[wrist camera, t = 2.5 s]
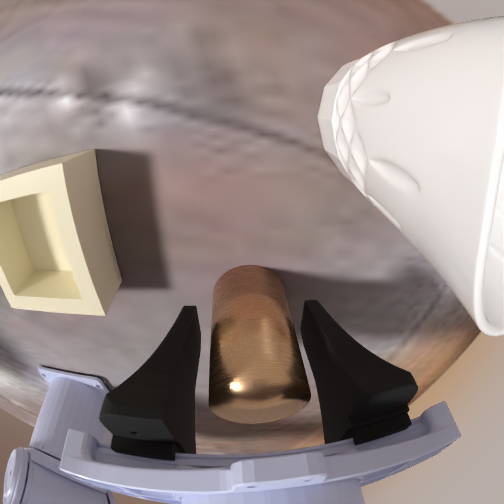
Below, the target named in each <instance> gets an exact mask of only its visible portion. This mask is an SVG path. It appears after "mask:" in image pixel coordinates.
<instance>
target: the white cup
mask: <svg viewBox="0 0 504 504" xmlns="http://www.w3.org/2000/svg"><path fill="white" fill-rule="evenodd" d="M317 118H318V123H319V127H320V132H321V137H322V141H323V146H324V150H325V151H326V152H327V154H328V155H329V157H330V158H331V159H332V161H333V162H334V164H335V165H336V166H337V168H338V169H339V171H340V172H341V173H342V175H344V176H345V177H346V178H347V179H348V180H350V181H351V182H352V183H353V184H354V185H355V186H356V187H357V188H358V189H359V190H360V191H361V193H362V194H363V195H364V196H365V197H366V198H367V199H368V200H369V201H370V202H371V203H372V204H373V205H374V206H375V207H376V208H377V209H378V210H379V211H380V212H381V213H382V214H383V215H384V216H385V217H386V218H387V220H388V221H389V222H390V223H391V224H392V225H393V226H394V227H395V228H396V229H397V230H398V231H399V232H400V233H401V234H402V235H403V236H404V237H405V238H406V239H407V240H408V241H409V242H410V244H411V245H412V246H413V247H414V248H415V249H416V250H417V251H418V252H419V253H420V254H421V255H422V257H423V258H424V259H425V260H426V261H427V262H428V263H429V264H430V266H431V267H432V268H433V269H434V270H435V271H436V273H437V274H438V275H439V276H440V277H441V279H442V280H443V281H444V282H445V283H446V285H447V286H448V287H449V288H450V290H451V291H452V292H453V294H454V295H455V296H456V297H457V299H458V300H459V301H460V303H461V304H462V305H463V307H464V308H465V309H466V311H467V312H468V314H469V315H470V316H471V318H472V319H473V321H474V322H475V323H476V325H477V326H478V328H479V329H480V330H481V331H482V332H483V333H484V334H486V335H488V336H501V335H504V16H498V17H490V18H483V19H477V20H472V21H466V22H461V23H456V24H452V25H447V26H443V27H439V28H435V29H431V30H428V31H424V32H421V33H417V34H414V35H411V36H408V37H405V38H402V39H400V40H398V41H396V42H393V43H390V44H387V45H385V46H383V47H380V48H378V49H376V50H374V51H373V52H371V53H369V54H368V55H366V56H365V57H363V58H360V59H358V60H355V61H352V62H350V63H347V64H345V65H343V66H342V67H341V68H340V69H339V71H338V72H337V73H336V74H335V75H334V76H333V77H332V79H331V80H330V81H329V82H328V83H327V84H326V85H325V87H324V90H323V95H322V99H321V104H320V108H319V113H318V117H317Z"/></svg>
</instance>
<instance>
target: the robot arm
mask: <svg viewBox="0 0 504 504" xmlns="http://www.w3.org/2000/svg"><path fill="white" fill-rule="evenodd" d="M301 334H302V339H303V344H304V348H305V351H306V354H307V357H308V360H309V363H310V366H311V369H312V372H313V376H314V379H315V382H316V387H317V392H318V397H319V403H320V409H321V415H322V423H323V431H324V441H325V444H324V445H319V446H313V447H307V448H301V449H294V450H286V451H277V452H267V453H254V454H230V455H207V454H196V442H195V386H196V379H197V372H198V365H199V358H200V350H201V331H200V325H199V320H198V314H197V308H196V306H184V307H183V308H182V310H181V312H180V314H179V316H178V318H177V319H176V321H175V323H174V324H173V326H172V328H171V329H170V331H169V332H168V334H167V335H166V337H165V338H164V340H163V341H162V343H161V344H160V345H159V347H158V348H157V349H156V351H155V352H154V353H153V354H152V355H151V357H150V358H149V359H148V360H147V361H146V362H145V363H144V364H143V365H142V366H141V367H140V368H139V369H138V370H137V371H136V372H135V373H134V374H133V375H131V376H130V377H129V378H128V379H127V380H126V381H124V382H123V383H122V384H120V385H119V386H118V387H116V388H115V389H113V390H112V391H110V392H109V391H108V389H107V388H106V386H105V385H104V383H103V382H102V381H101V379H99V378H97V377H92V376H85V375H80V374H74V373H69V372H64V371H59V370H54V369H50V368H45V367H41V366H39V367H38V371H39V373H40V374H41V375H42V377H43V378H44V379H45V380H46V382H47V383H48V384H49V385H50V386H49V389H48V391H47V394H46V397H45V399H44V402H43V405H42V408H41V410H40V413H39V416H38V419H37V422H36V425H35V429H34V432H33V435H32V438H31V442H30V445H29V448H25V449H24V448H23V447H20V448H17V449H14V450H13V452H12V454H11V456H10V459H9V461H8V465H7V469H6V473H5V480H4V496H3V504H117V503H116V501H115V499H114V497H113V495H112V493H111V491H113V492H117V493H121V494H125V495H129V496H133V497H137V498H142V499H147V500H152V501H158V502H163V503H170V504H365V503H364V499H363V495H362V491H361V487H362V486H365V485H368V484H370V483H373V482H376V481H379V480H381V479H384V478H386V477H389V476H391V475H394V474H396V473H398V472H401V471H403V470H405V469H407V468H410V467H412V466H414V465H416V464H418V463H420V462H422V461H424V460H427V459H429V458H430V457H433V456H435V455H436V454H438V453H439V452H441V451H442V450H444V449H445V448H446V447H448V446H449V445H450V444H452V443H453V442H454V441H456V440H457V439H458V438H460V437H461V434H460V432H459V429H458V427H457V425H456V423H455V421H454V419H453V417H452V415H451V412H450V410H449V408H448V406H447V404H446V402H441V403H439V404H437V405H434V406H432V407H430V408H428V409H427V410H425V411H424V412H423V413H422V414H421V416H420V417H417V418H415V419H412V420H410V418H409V415H408V413H407V412H408V411H409V407H408V405H407V404H408V403H409V402H410V401H411V399H412V398H413V397H414V396H415V394H416V393H417V391H418V386H417V384H416V382H415V380H414V378H413V376H412V374H411V373H410V372H408V371H406V370H404V369H401V368H399V367H396V366H394V365H392V364H390V363H388V362H387V361H385V360H383V359H381V358H379V357H378V356H376V355H375V354H373V353H372V352H370V351H369V350H367V349H366V348H364V347H363V346H362V345H361V344H359V343H358V342H357V341H355V340H354V339H353V338H352V337H351V336H350V335H349V334H348V333H347V332H345V331H344V330H343V329H342V328H341V327H340V326H339V324H338V323H337V322H336V321H335V320H334V319H333V318H332V317H331V316H330V315H329V314H328V313H327V311H326V310H325V309H324V308H323V307H322V306H321V305H320V303H319V302H318V301H317V300H307V301H305V303H304V310H303V316H302V322H301Z"/></svg>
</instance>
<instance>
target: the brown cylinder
mask: <svg viewBox="0 0 504 504" xmlns="http://www.w3.org/2000/svg"><path fill="white" fill-rule="evenodd" d="M310 398H311V392H310V388H309V384H308V380H307V376H306V372H305V368H304V364H303V360H302V356H301V352H300V348H299V344H298V341H297V337H296V333H295V329H294V325H293V322H292V318H291V314H290V310H289V307H288V303H287V299H286V295H285V292H284V288H283V285H282V282H281V280H280V279H279V277H278V276H277V275H276V274H275V273H273V272H272V271H270V270H269V269H267V268H264V267H260V266H254V265H246V266H240V267H236V268H233V269H231V270H229V271H228V272H226V273H225V274H223V275H222V276H221V277H220V278H219V280H218V281H217V283H216V285H215V287H214V292H213V307H212V326H211V346H210V372H209V407H210V409H211V411H212V412H213V413H214V414H215V415H217V416H219V417H221V418H223V419H225V420H228V421H232V422H237V423H245V424H259V423H268V422H273V421H278V420H281V419H284V418H287V417H289V416H292V415H294V414H296V413H297V412H299V411H300V410H302V409H303V408H304V407H305V406H306V405H307V404H308V402H309V401H310Z"/></svg>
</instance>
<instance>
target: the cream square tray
mask: <svg viewBox="0 0 504 504" xmlns="http://www.w3.org/2000/svg"><path fill="white" fill-rule="evenodd" d="M121 282H122V278H121V274H120V271H119V267H118V264H117V260H116V256H115V253H114V249H113V245H112V241H111V237H110V233H109V228H108V224H107V219H106V215H105V210H104V205H103V200H102V194H101V189H100V183H99V176H98V170H97V163H96V155H95V149H92V150H87V151H83V152H78V153H74V154H69V155H65V156H61V157H57V158H53V159H50V160H46V161H42V162H39V163H35V164H32V165H29V166H25V167H22V168H19V169H16V170H13V171H10V172H7V173H4V174H1V175H0V285H1V287H2V289H3V291H4V293H5V295H6V297H7V299H8V301H9V303H10V305H11V307H12V308H18V309H27V310H36V311H46V312H57V313H70V314H84V315H102V316H106V314H107V311H108V309H109V307H110V305H111V303H112V301H113V299H114V297H115V294H116V292H117V290H118V288H119V286H120V284H121Z"/></svg>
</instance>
